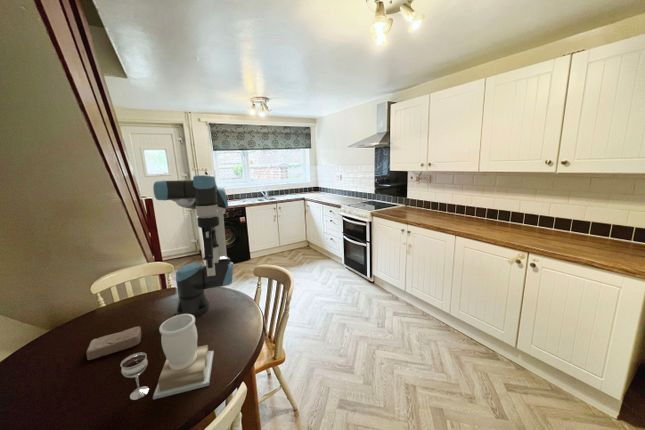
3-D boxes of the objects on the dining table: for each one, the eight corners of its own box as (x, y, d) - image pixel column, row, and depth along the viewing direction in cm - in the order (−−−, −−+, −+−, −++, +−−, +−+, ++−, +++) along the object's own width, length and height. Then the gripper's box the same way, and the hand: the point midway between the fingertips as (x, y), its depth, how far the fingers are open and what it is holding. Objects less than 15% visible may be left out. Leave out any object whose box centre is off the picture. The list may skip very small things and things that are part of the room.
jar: (187, 346, 94) (181, 310, 91) (206, 355, 90) (201, 317, 87) (158, 367, 85) (151, 328, 82) (179, 377, 81) (172, 337, 77)
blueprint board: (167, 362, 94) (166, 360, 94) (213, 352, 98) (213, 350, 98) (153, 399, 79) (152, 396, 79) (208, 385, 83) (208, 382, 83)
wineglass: (126, 390, 82) (120, 358, 80) (151, 380, 86) (146, 349, 84) (125, 406, 77) (119, 372, 74) (152, 394, 80) (147, 361, 78)
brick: (87, 361, 95) (84, 350, 94) (92, 348, 102) (90, 338, 101) (140, 345, 104) (139, 335, 103) (142, 334, 111) (140, 324, 110)
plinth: (170, 362, 93) (169, 352, 92) (208, 354, 96) (207, 344, 96) (159, 391, 80) (158, 380, 80) (204, 380, 84) (203, 370, 84)
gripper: (215, 221, 85) (221, 280, 89) (220, 210, 109) (225, 257, 113) (191, 223, 83) (197, 283, 87) (201, 211, 107) (206, 259, 110)
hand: (213, 268), depth 100 cm, fingers open, 13 cm apart
